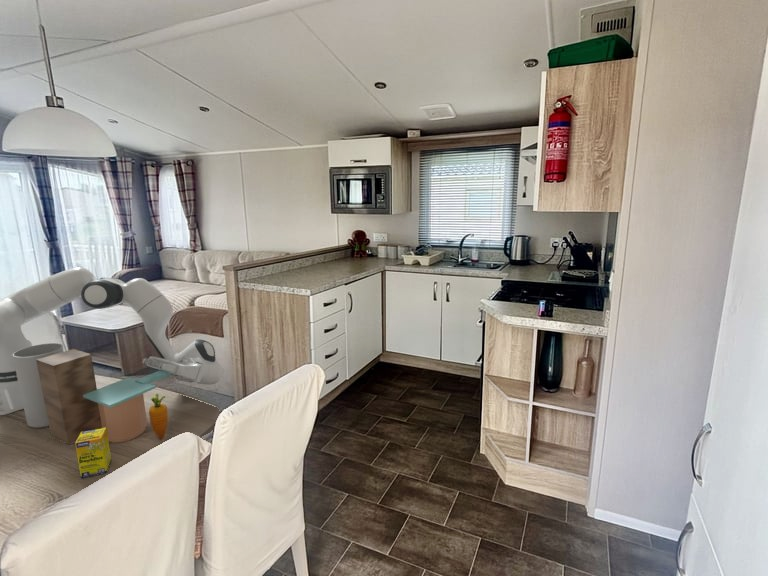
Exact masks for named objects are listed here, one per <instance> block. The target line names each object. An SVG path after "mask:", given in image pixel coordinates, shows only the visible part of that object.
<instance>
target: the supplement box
mask: <svg viewBox="0 0 768 576" xmlns="http://www.w3.org/2000/svg"><path fill="white" fill-rule="evenodd" d="M74 445H75V452H76V457H77V462H78V468H79V474H80V479H85V478H90V477H93V476H94V475H95V476H98V475H97V474H99V475H102V474H101V473H105V474H107V473H108V471H109V469H110V466H109V465H111V464H112V463H111V462H112V456H111V449H110V442H109V441H108V435H107V428H106V427H105V428H101V429H96V430H90V431H83V432H81V433H80V435H79V437H78V439H77V440H76V442H74ZM108 468H109V469H108ZM107 470H108V471H107Z"/></svg>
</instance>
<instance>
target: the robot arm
mask: <svg viewBox="0 0 768 576" xmlns="http://www.w3.org/2000/svg"><path fill="white" fill-rule="evenodd" d="M94 275H95V274H93V272H92V271H90V270H89V269H87V268H86V267H81V266H80V267H79V266H77V267H73V268H69V269H65V270H63V271H60V272H57V273H55V274H52V275H50V276H47V277H46V278H44V279H42V280H39V281H37V282H35V283H33V284H31V285H29V286H26V287H25V288H22V289H20V290H18V291H16V292H15V293H12V294H9V295H7V296H5V297H3V298H0V416H6V415H8V414H11V413H14V412H17V411H21V410H24V407H23V402H22V397H21V393H20V388H19V383H18V378H17V374H16V369H15V364H14V360H13V353H14V352H16V351H18V350H21V349H23V348H27V347H31V346H33V343H32V342H31V341H30V339H27V338H26V336H25V335H24V333H23V331H22V327H21V326H23V325H24V324H26V323H28V322H30V321H33V320H34V319H37V318H40V317H42V316H45V315H46V314H49V313H51V312H53V311H55V310H57V309H59V308H61V307H64V306H65V305H68V304H70V303H73V302H74V301H76V300H78V299H80V298H81V300H82V301H83V302H84V304H85V305H87V306H88V307H90V308H92V309H97V310H103V309H110V308H114V307H117V306H119V305H123V304H125V305H128V306H129V307H130V308H131V309H132V310H133V311H135V313H137V315H138V316H139V318H141V320H142V322H143V326H144V328H143V332H144V334H145V336H146V337H147V339H148V341H149V342H150V344H151V345H152V346H153V348H154V349H155V350H156V352H157V354H158V355H159V356H160V357H157V356H154V355H153V356H150V355H149V357H148V358H143V359H142V361H141V363H142V364H143V365H144V364H145V365H146V366H147V367H148V368H149V367H150V368H153V369H156V370H158V371H160V370H163V371H166V372H169V373H173V374H171V376H172V377H173V378H175V380H176V381H178V382H182V383H183V382H185V383H190V384H191V383H196V384H198V385H208V386H209V385H210V386H211V385H216V384H218V383H219V382H220V381H221V380H222V379H223V377H224V375H225V367H224V366H223V365H222V364H221V363H219V361H218V360H217V359H216V350H215V347H214V345H213V344H212V343H210V342H209V341H207V340H204V339H195V340H194V341H193V342H191V343H190V344H189V345H187V346H186V347H185V348H184V349H183V350H182V351H181V352H179V353H178V352H177V351H176V348H174V346H173V345H172V344H171V342H170V341H169V339H168V338H167V336H166V329H167V327H168V324H169V323H170V321H171V319H172V317H173V305H172V303H171V302H170V300H169V299H168V298H167V297H166V296H165V295H164V294H163V293H162V292H161V291H160V290H159V289H158V288H157V287H156V286H155V285H153V283H151V282H149V281H148V280H147V279H145V278H142V277H138V278H132V279H130V280H129V281H125V280H124V279H121V278H117V277H100V278H98V277H96V276H94Z"/></svg>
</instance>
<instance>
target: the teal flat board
mask: <svg viewBox="0 0 768 576" xmlns="http://www.w3.org/2000/svg"><path fill="white" fill-rule="evenodd" d="M171 374H173V373H169V372H166V371H163V370H158V371H157V370H156V371H155V372H153V373H150V374H148V375H144V376H143V377H139V378H138V379H136V378H132V377H130V376H128V377H126V378H124V379H121V380H118V381H116V382H113V383H111V384H108V385H105V386H102V387H100V388H97V390H94V391H92V392H89V393H87V394H84V395H83V397H84V398H87V399H89V400H92V401H94V402H97V403H99V404H102V405H105V406H107V407H110V408H111V407H113V406H116V405H118V404H120V403H123V402H125V401H127V400H129V399H132V398H134V397H136V396H139V395H141V394H143V395H144V394H145V393H147V392H151V391H152V390H155V389H157V385H154V384H152V383H154V382H156V381H159V380H162V379H164V378H166V377H168V376H170V375H171ZM171 376H172V375H171Z"/></svg>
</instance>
